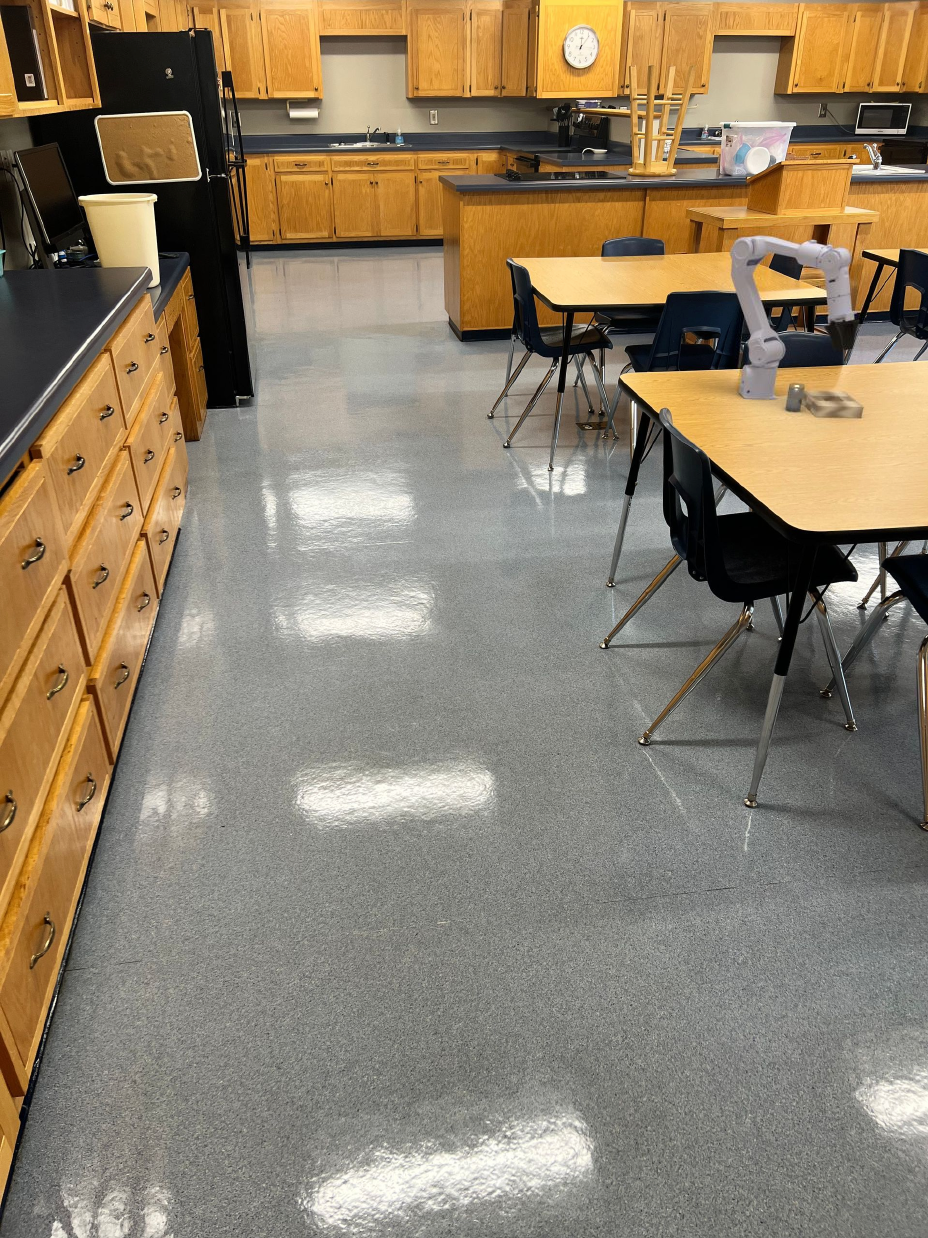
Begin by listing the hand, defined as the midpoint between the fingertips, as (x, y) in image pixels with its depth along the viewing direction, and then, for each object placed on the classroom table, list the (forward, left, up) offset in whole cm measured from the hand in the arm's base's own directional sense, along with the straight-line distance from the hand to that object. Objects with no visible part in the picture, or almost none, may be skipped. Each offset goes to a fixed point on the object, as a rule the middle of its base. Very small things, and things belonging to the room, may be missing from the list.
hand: (843, 349), depth 239 cm
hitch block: (0, +2, -17) cm, 17 cm away
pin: (-10, 0, -17) cm, 20 cm away
